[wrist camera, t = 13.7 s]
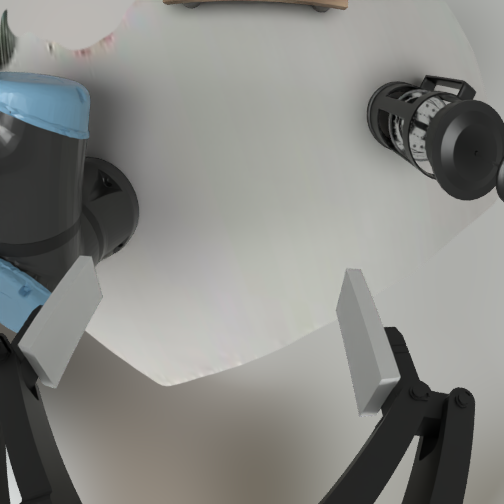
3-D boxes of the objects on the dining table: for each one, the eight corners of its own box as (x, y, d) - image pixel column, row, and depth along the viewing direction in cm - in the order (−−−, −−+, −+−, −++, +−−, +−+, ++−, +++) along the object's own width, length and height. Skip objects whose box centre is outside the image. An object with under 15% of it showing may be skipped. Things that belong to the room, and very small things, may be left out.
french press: (408, 166, 38) (509, 261, 19) (351, 133, 37) (441, 212, 17) (446, 96, 32) (574, 145, 13) (391, 57, 31) (517, 64, 11)
